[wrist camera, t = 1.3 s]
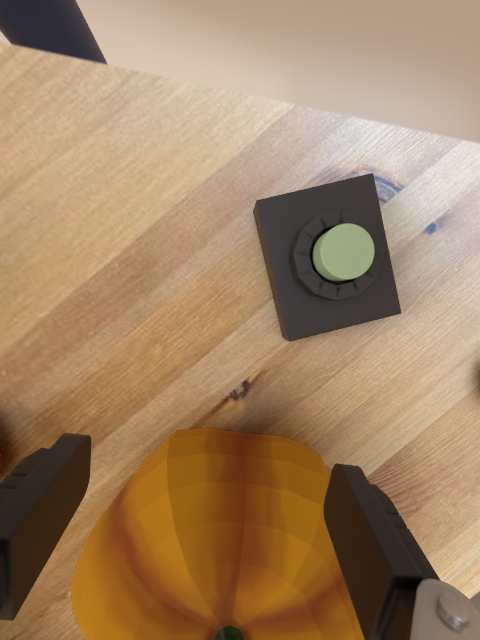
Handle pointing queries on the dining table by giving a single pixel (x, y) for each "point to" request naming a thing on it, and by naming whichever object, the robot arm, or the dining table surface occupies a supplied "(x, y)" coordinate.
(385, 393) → the dining table surface
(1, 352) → the dining table surface
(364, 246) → the green button cap
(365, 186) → the button housing
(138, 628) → the decorative pumpkin
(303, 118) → the dining table surface
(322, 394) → the dining table surface
